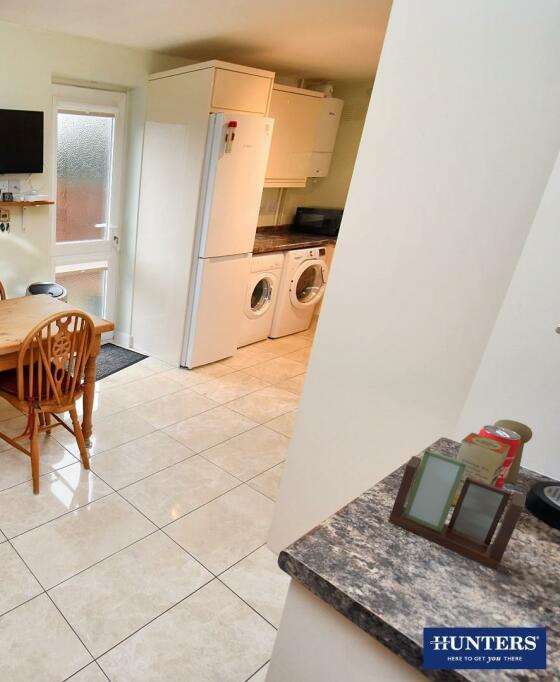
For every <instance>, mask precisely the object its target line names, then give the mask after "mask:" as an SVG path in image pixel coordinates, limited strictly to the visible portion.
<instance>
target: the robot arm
mask: <svg viewBox="0 0 560 682" xmlns="http://www.w3.org/2000/svg"><path fill="white" fill-rule="evenodd" d="M555 333H556V334H558V335H560V323H558V325H557V326H556V328H555Z"/></svg>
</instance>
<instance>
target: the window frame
mask: <svg viewBox="0 0 560 682" xmlns="http://www.w3.org/2000/svg"><path fill="white" fill-rule="evenodd" d="M421 461H422V458H421V457H418V456H415V455H412V456H411V457H410V459H409V461H408V462H407V463H406V465H405V469H404V472H403V475H402V478H401V481H400V483H399V487H398V490H397V493H396V496H395V499H394V503H393V505H392V509H391V512H390V515H389V518H388V523H391V524H392V525H395V526H398V527H400V528H402V529H404V530H406V531H408V532H410V533H413V534H415V535H417V536H419V537H421V538H424V539H426V540H428V541H430V542H433V543H435V544H437V545H439V546H441V547H444V548H446V549H448V550H451V551H452V552H455V553H456V554H459V555H460V556H463V557H466V558H468V559H470V560H471V561H474V562H477V563H478V564H481V565H483V566H486V567H488V568H490V569H492V570H494V571H497V570H498V568H499V566H500V563H501V561H502V559H503V556H504V554H505V552H506V549H507V548H508V545H509V543H510V541H511V539H512V536H513V533H514V531H515V529H516V527H517V524H518V522H519V520H520V518H521V515H522V513H523V511H524V508H525V504H526V498H527V495H525V494H523V493H520V492H517V491H514V492H513V494H512V492H511V491H508V490H505V489H504V488H502V489H500V488H498V487H495V486H492V485H489V484H486V483H484V482H481V481H478V480H475V479H472V478H470V477H466V479H465V482H464V485H463V487H462V490H461V493H460V495H459V498H458V501H457V503H456V506H455V505H454V509H453V512H452V514H451V517H450V519H449V522H448V524H444V526H443V529H442V531H441V532H439V531H437V530H435V529H432V528H430V527H428V526H425V525H423V524H421V523H419V522H416V521H414V520H412V519H409V518H407V517H405V516H403V515H404V512H405V509H406V506H407V503H408V500H409V497H410V494H411V491H412V488H413V485H414V482H415V479H416V476H417V473H418V470H419V467H420V464H421ZM511 494H512V496H511ZM510 497H511V499H510ZM509 500H510V501H509ZM508 501H509V504H508ZM507 504H508V505H507ZM506 507H507V508H506ZM505 508H506V510H505ZM504 511H505V513H504ZM503 513H504V516H503ZM502 516H503V518H502ZM501 518H502V520H501ZM500 521H501V522H500ZM499 523H500V525H499ZM498 526H499V528H498V530H497V527H498ZM496 530H497V532H496ZM495 533H496V535H495ZM494 535H495V537H494ZM493 537H494V539H493ZM492 539H493V541H492ZM491 542H492V543H491Z"/></svg>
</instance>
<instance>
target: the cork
mask: <svg viewBox="0 0 560 682" xmlns="http://www.w3.org/2000/svg"><path fill="white" fill-rule="evenodd" d="M492 426H498V427H502V428H506V429H508V430H511V431H513V432H515V433H517V434H518V435H519V436H520V441H521V443H520V446H519V448H518V451H517V453H516V455H515V458H514V460H513V463H512V465H511V467H510V470H509V472H508V475H507V477H506V480H505V482H504V483H508V484H509V483H510V484H512V483H516V482H518V478H519V473H520V468H521V463H522V458H523V454H524V453H523V452H524V448H525V447H524V446H525V444H526V443H528V442H530V441H531V440H532V438H533V430H532V428H530V427H529V426H528V425H526V424H524V423H522V422H519V421H515V420H511V419H499V420H497V421H496V422H495V423H494V424H493V425H492Z"/></svg>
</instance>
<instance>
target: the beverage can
mask: <svg viewBox="0 0 560 682" xmlns="http://www.w3.org/2000/svg"><path fill="white" fill-rule="evenodd" d="M477 434H478V435H481V436H484V437H487V438H490V439H493V440H496V441H499V442H502V443H505V444H508V445H511V446H510V448H509V451H508V453H507V456H506V458H505V461H504V463H503V466H502V468H501V471H500V473H499V476H498V478H497V481H496V483H495V487H498V488H500V489H503V487H504V484H505V483H506V482H505V480H506V477H507V475H508V472H509V470H510V467H511V465H512V463H513V460H514V458H515V455H516V453H517V451H518V448H519V446H520V443H521V441H520V436H519V435H518V434H517V433H515V432H513V431H511V430H508V429H506V428H502V427H498V426H493V425H491V424H488V425H487V424H486V425H484V426H483V427H482V428H480V430H479V433H477Z"/></svg>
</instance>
